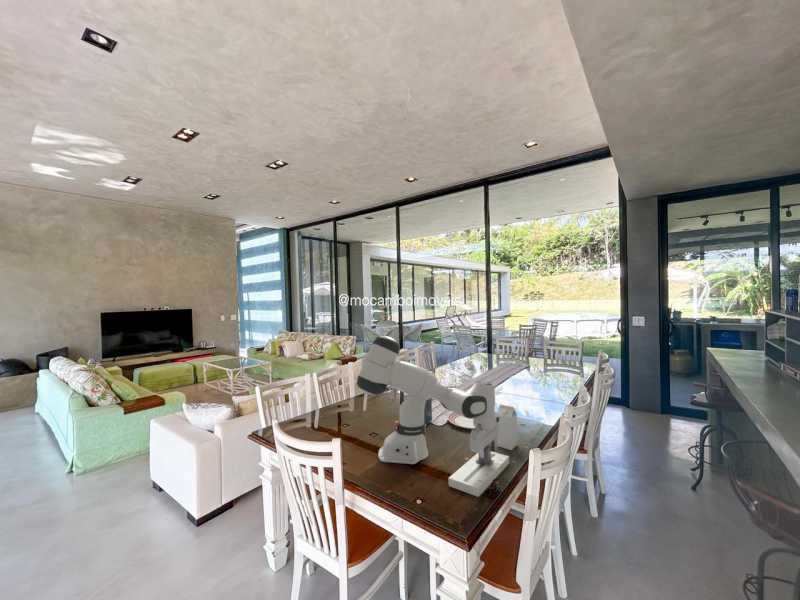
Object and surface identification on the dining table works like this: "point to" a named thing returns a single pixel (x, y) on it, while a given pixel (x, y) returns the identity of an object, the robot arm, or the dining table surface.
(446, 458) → the dining table surface
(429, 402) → the bottle
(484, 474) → the console board
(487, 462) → the fader tab
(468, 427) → the dinner plate
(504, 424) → the milk carton
